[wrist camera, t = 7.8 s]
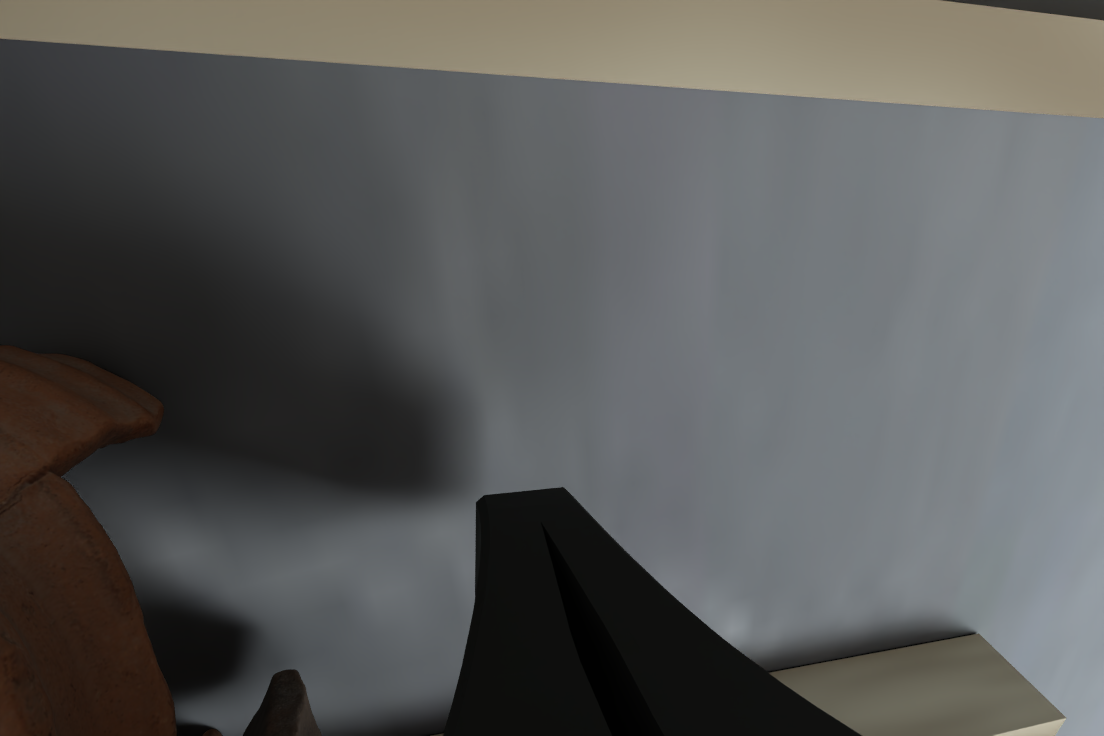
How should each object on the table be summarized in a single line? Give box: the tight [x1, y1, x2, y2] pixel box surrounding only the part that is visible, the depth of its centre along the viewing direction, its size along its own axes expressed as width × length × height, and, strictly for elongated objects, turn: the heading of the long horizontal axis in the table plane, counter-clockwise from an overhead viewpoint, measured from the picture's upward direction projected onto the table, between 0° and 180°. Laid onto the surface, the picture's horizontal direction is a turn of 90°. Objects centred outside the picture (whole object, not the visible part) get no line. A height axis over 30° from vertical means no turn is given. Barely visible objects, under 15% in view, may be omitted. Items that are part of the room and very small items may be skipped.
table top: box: [0, 0, 1104, 736], centre depth 9 cm, size 15×30×3 cm, turn 86°
